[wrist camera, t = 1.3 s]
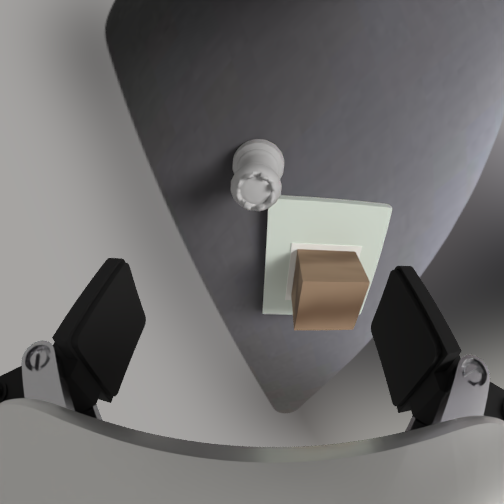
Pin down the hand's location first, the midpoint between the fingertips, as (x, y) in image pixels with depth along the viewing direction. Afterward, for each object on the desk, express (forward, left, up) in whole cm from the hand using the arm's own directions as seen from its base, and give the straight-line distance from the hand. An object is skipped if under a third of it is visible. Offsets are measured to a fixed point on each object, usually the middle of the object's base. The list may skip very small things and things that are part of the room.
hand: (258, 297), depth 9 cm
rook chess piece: (-1, 0, -17) cm, 17 cm away
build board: (+9, +7, -17) cm, 20 cm away
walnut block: (+10, +7, -16) cm, 20 cm away
